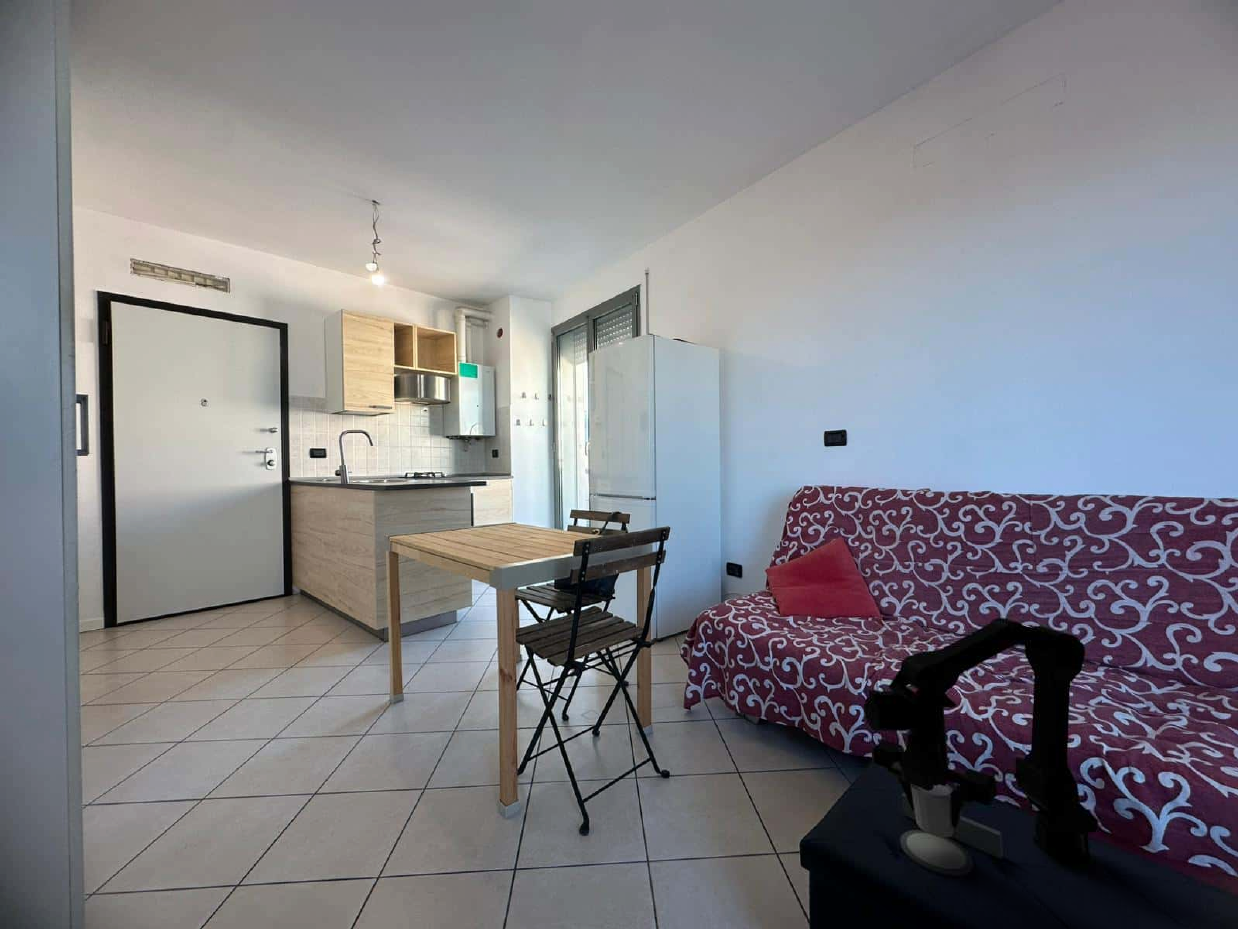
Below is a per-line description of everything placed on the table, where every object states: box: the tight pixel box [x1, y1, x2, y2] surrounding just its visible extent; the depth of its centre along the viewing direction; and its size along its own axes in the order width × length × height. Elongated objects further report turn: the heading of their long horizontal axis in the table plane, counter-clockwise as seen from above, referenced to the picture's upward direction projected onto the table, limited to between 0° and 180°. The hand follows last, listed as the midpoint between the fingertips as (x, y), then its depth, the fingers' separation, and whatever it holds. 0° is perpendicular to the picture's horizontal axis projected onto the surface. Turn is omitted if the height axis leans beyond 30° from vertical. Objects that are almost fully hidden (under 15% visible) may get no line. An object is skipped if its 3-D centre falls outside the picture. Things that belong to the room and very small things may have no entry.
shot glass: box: [910, 783, 954, 838], centre depth 87 cm, size 7×7×7 cm
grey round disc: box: [899, 829, 974, 877], centre depth 86 cm, size 11×11×1 cm
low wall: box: [901, 792, 1004, 860], centre depth 91 cm, size 16×1×4 cm, turn 40°
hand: (934, 818), depth 87 cm, fingers closed on shot glass, 6 cm apart
